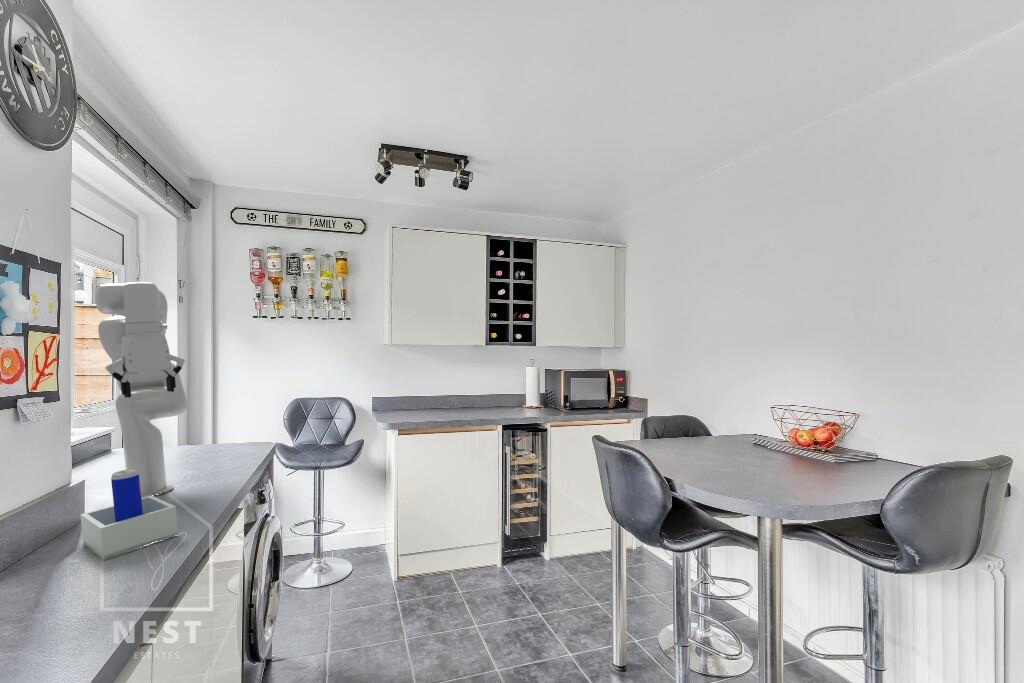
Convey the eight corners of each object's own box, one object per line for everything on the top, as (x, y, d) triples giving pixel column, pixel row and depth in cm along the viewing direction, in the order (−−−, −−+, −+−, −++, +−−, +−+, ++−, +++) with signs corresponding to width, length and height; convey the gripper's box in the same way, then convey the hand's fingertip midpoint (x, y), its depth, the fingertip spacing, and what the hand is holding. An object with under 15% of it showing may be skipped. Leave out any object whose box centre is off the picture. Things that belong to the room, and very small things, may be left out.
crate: (83, 544, 117) (80, 514, 117) (154, 522, 128) (151, 495, 128) (103, 560, 107) (100, 528, 107) (178, 535, 118) (175, 506, 118)
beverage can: (150, 531, 119) (143, 468, 119) (127, 541, 114) (120, 475, 114) (134, 529, 121) (128, 468, 120) (111, 539, 116) (105, 474, 115)
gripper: (175, 328, 142) (181, 388, 143) (98, 331, 128) (105, 398, 129) (186, 327, 137) (191, 390, 138) (107, 331, 124) (113, 400, 125)
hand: (149, 394), depth 134 cm, fingers open, 9 cm apart
